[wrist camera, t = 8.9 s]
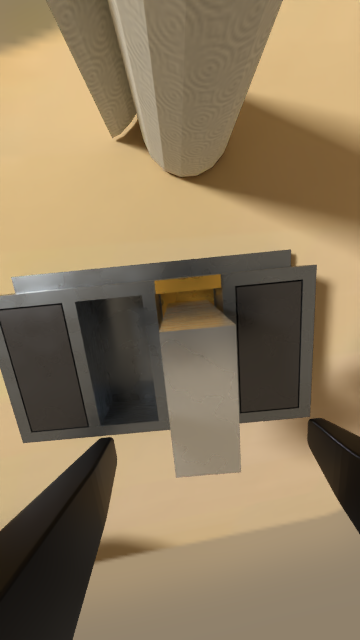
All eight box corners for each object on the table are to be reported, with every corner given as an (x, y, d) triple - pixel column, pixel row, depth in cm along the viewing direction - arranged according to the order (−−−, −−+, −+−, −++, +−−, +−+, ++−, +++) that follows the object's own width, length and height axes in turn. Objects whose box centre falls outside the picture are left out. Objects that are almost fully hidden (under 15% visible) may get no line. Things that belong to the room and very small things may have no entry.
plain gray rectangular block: (176, 386, 18) (176, 477, 10) (167, 303, 16) (158, 332, 8) (212, 383, 17) (241, 472, 10) (207, 299, 16) (235, 325, 8)
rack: (57, 419, 19) (25, 459, 15) (20, 276, 17) (-31, 278, 12) (282, 399, 19) (310, 433, 15) (284, 250, 16) (319, 243, 12)
